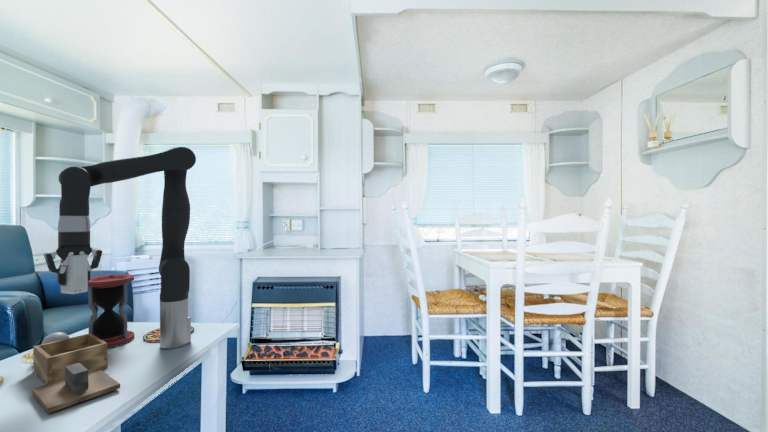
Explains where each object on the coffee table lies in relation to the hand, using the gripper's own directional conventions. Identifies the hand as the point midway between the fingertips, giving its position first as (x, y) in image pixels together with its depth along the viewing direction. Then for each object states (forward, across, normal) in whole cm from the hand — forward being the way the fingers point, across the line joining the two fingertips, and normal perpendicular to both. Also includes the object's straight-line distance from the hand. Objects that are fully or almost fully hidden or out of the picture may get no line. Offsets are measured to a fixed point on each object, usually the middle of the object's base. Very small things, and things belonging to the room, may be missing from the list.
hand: (74, 283), depth 107 cm
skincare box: (+3, 0, 0) cm, 3 cm away
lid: (+27, -4, -18) cm, 33 cm away
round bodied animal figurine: (+28, +1, +17) cm, 33 cm away
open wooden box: (+28, 0, +2) cm, 28 cm away
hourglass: (+28, +15, +20) cm, 38 cm away
